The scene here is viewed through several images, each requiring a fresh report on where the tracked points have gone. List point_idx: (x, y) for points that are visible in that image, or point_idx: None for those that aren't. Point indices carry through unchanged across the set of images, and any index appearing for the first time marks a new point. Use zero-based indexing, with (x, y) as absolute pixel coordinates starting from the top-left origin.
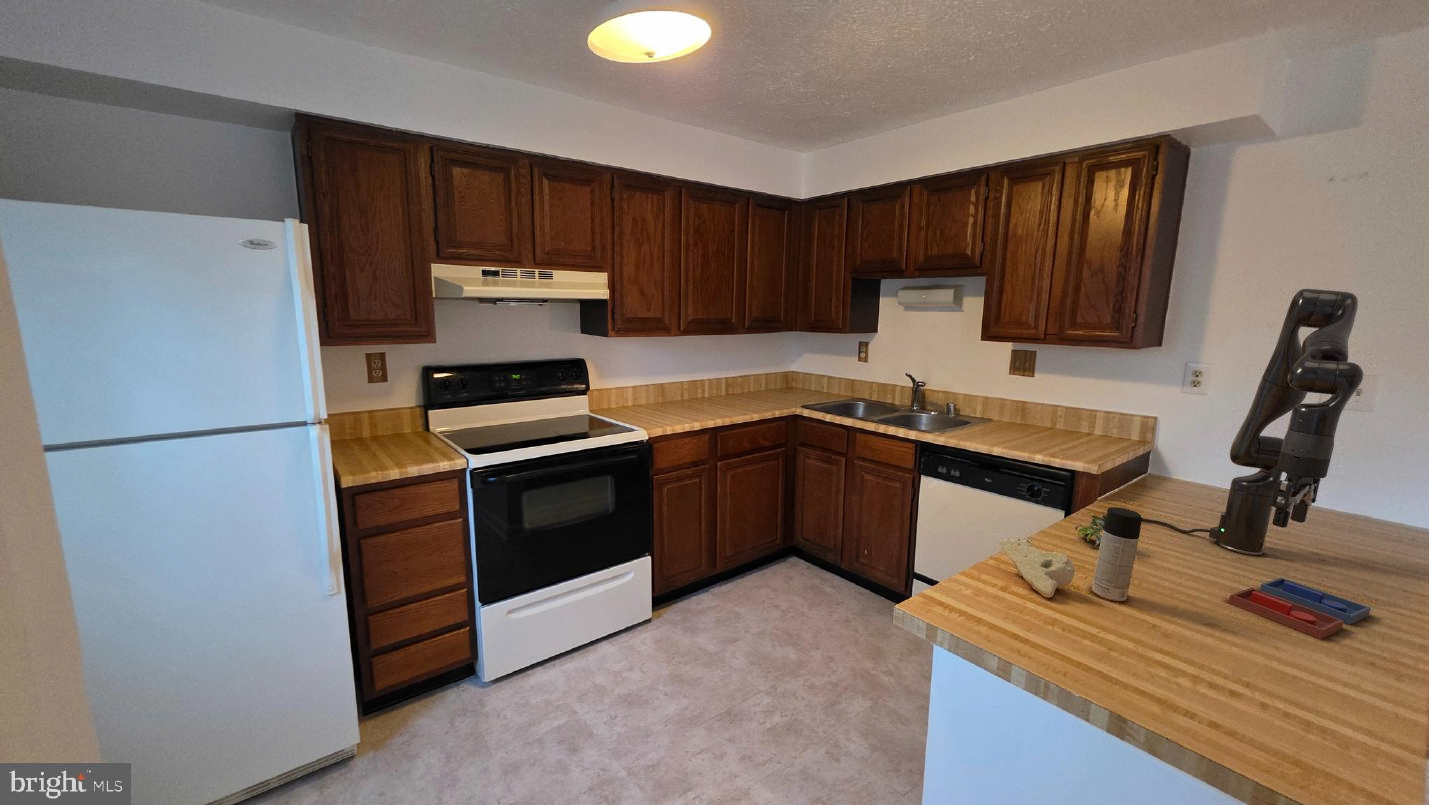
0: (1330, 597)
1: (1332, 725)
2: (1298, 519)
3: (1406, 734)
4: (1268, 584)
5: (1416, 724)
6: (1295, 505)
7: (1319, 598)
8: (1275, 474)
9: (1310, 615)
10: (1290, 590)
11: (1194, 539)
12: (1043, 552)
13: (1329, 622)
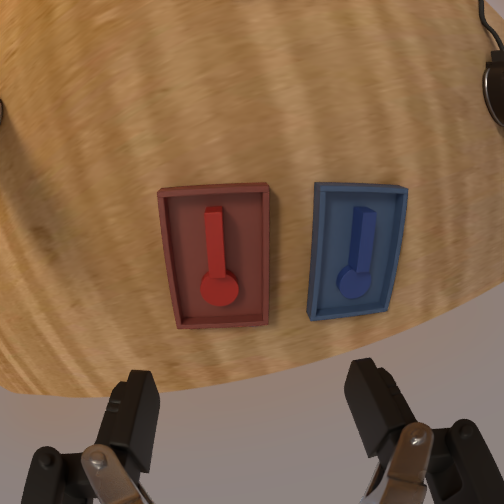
0: (390, 264)
1: (15, 364)
2: (351, 387)
3: (61, 393)
4: (340, 191)
5: (83, 397)
6: (384, 428)
7: (353, 267)
8: None
9: (235, 295)
10: (356, 222)
11: (473, 33)
12: None
13: (261, 306)
